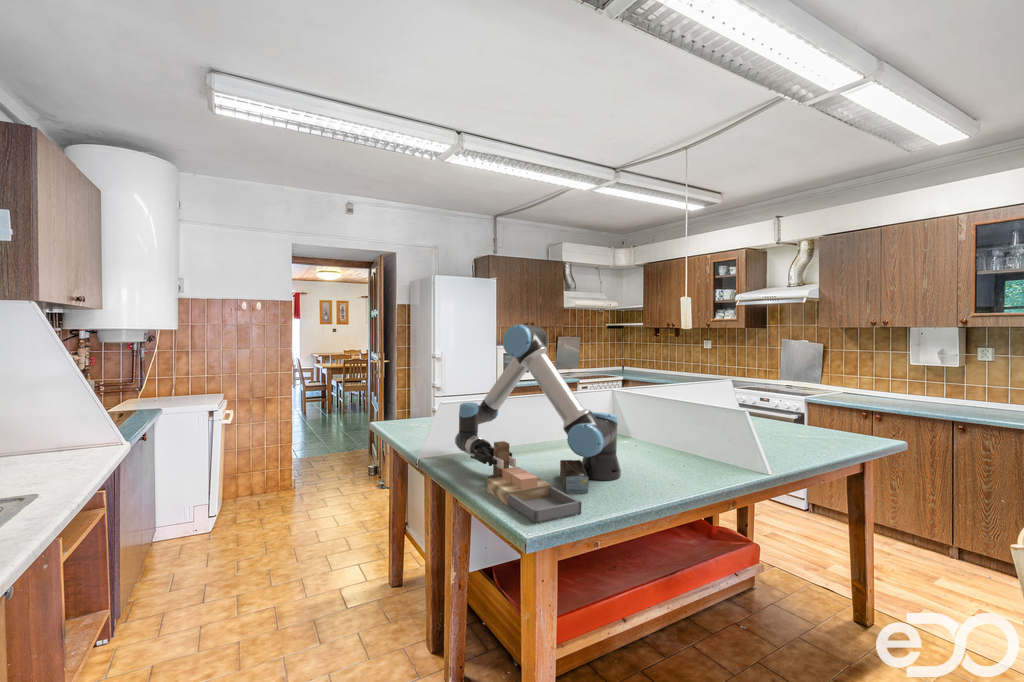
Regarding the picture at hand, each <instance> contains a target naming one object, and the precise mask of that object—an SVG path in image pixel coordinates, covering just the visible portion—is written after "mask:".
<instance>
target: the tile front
mask: <svg viewBox="0 0 1024 682" xmlns="http://www.w3.org/2000/svg"><path fill="white" fill-rule="evenodd" d="M538 478H539V477H538V476H537V475H534V473H531V472H530V471H527V472H524V473H517V474H512V484H513V485H515V486H517V487H518V488H520V489H526V488H531V487H537V486H538Z"/></svg>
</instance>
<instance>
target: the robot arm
mask: <svg viewBox="0 0 1024 682" xmlns="http://www.w3.org/2000/svg"><path fill="white" fill-rule="evenodd" d="M548 339H549V338H548V335H547V333H546V331H545V330H544V329H543V328H542V327H540V326H538V325H535V324H521V323H519V324H516V325H512V326H510V327H509V328H508V329H507V330H506V331H505V332H504V334H503V338H502V347H503V349H504V351H505V352H506V354H507V355H508V356H510V357H512V359H511V360H510V361H509V363H508V365H506V367H505V369H504V370H503V371H502V372H501V375H500V376H499V377H498V378H497V380H496V382H495V383H494V384H493V386H492V387H491V389H490V390H489V391H488V393H487V394H486V396H485V397H484V399H483V400H482V402H481V403H480V404H478V403H477V402H462V403H460V405H459V412H458V432H457V434H456V436H455V437H454V444H455V446H456V448H458V449H459V450H460V451H461V452H464V453H466V454H468V455H469V456H470V459H473V460H476V461H477V462H479V463H482V464H483V465H487V464H488V466H489V467H493V465H495V466H497V467H499V468H501V469H504V461H503V460H501V459H499V458H497V457H495V456H494V446H492V445H491V443H490V442H489V441H488V440H486V439H484V438H482V437H480V436H479V435H478V433H479V425H481V424H486V423H488V422H492V421H493V420H496V418H497V417H498V416H499V409H501V407H502V406H503V404H504V403H505V401H506V400H507V399H508V397H509V396H510V394H512V391H514V389H515V388H516V386H517V385H518V383H519V382H520V380H521V379H522V378H523V376H524V375H525V374H526V372H527V371H529V373H530V375H531V376H532V377H533V378H534V380H535V381H536V383H537V384H538V386H539V388H540V389H541V391H542V392H543V393H544V395H545V396H546V398H547V399H548V401H549V403H550V404H551V405H552V407H553V408H554V410H555V412H557V414H558V416H559V417H560V419H561V420H562V422H563V427H562V430H563V431H564V432H565V434H566V435H567V439H566V440H567V445H568V447H569V448H570V450H571V451H572V452H573V453H574V454H576V455H577V456H579V457H582V460H581V462H582V464H583V466H584V469H585V471H586V473H587V476H588V479H591V480H596V481H613V479H614V480H617V478H618V479H619V477H620V478H621V476H622V475H621V474H622V470H621V466H620V462H619V459H618V455H617V448H618V447H617V445H618V444H617V443H618V442H617V440H618V423H619V422H618V416H617V415H615V414H614V413H613V414H612V413H605V412H594V411H592V410H591V409H587V408H584V406H583V405H582V404H581V402H580V401H579V399H578V398H577V396H576V394H575V393H574V392H573V391H572V389H571V388H570V387H569V385H568V383H567V382H566V381H565V379H564V378H563V376H562V375H561V373H560V372H559V371H558V369H557V368H556V366H555V365H554V363H553V362H552V361H551V358H549V356H548V355H547V352H548V351H547V350H548V347H547V346H548ZM509 467H511V468H513V467H517V459H516V458H515V457H513V452H510V451H509Z"/></svg>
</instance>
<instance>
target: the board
mask: <svg viewBox="0 0 1024 682" xmlns="http://www.w3.org/2000/svg"><path fill="white" fill-rule="evenodd" d="M486 481H487V482H486V483H487V484H486V487H487V488H486V491H488V492H487V493H489V492H490V493H491V495H492V496H493V495H494V497H495V498H496V497H497V499H498V500H499V501H501V502H502V503H504V505H506V506H508V502H509V494H513V495H514V496H516V497H517V498H519V499H520V500H522V501H528V500H533V499H539V498H544V497H549V494H550V487H553V486H552V484H551V483H549V482H547V481H545V480H544V479H541V478H540V477H538V486H537V487H531V488H526V489H520V488H518V487H517V486H515V485H513V484H512V483H510V482H508V481H507V480H505V479H503V478H502V477H499V478H492V479H488V478H487V480H486ZM490 493H489V494H490Z"/></svg>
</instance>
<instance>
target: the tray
mask: <svg viewBox="0 0 1024 682" xmlns="http://www.w3.org/2000/svg"><path fill="white" fill-rule="evenodd" d="M507 506H508V507H510V508H511V509H513V510H514V511H516V513H518V514H520V515H521V516H522V517H524V518H526V519H527V520H528V519H529V521H530V522H531V521H532V522H531V523H533V524H534V523H535V524H534V525H536V523H537V524H541V523H540V522H542V523H546V522H550V521H549V520H551V521H554V520H553V519H556V520H559V519H558V518H560V519H563V518H562V517H565V518H568V517H567V516H569V517H572V516H571V515H574V516H577V515H576V514H578V515H581V514H582V501H580V500H579V499H577V498H576V497H575V498H574V497H573V496H571V495H569V494H568V493H566V492H563V491H562V490H561V489H560V490H559V489H558V488H555V487H554V486H552V487H550V494H549V497H544V498H539V499H533V500H528V501H522V500H520V499H519V498H517V497H516V496H514V495H513V494H509V502H508V505H507ZM580 513H581V514H580ZM545 521H546V522H545Z"/></svg>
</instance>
